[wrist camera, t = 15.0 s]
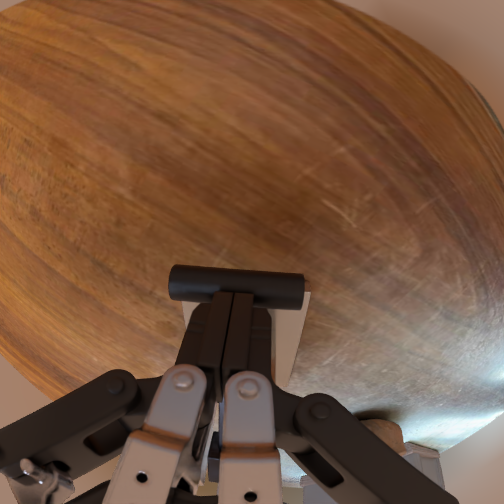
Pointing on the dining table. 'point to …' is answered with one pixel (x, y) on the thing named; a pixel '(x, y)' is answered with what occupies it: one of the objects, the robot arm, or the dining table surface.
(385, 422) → the bowl
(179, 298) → the lever
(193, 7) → the dining table surface
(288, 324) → the bracket
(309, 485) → the toaster
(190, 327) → the robot arm
